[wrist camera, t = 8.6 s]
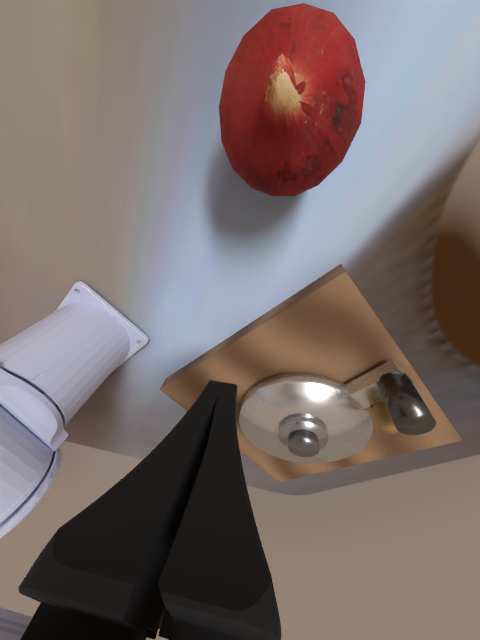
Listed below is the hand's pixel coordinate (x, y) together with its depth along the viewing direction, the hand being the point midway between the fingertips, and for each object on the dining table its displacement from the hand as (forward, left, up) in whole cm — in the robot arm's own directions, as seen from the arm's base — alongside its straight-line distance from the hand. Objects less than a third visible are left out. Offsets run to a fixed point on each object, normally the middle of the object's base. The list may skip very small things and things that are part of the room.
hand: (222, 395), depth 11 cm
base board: (-3, -12, -9) cm, 16 cm away
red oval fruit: (+9, +7, -10) cm, 15 cm away
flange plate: (-1, -12, -7) cm, 14 cm away
